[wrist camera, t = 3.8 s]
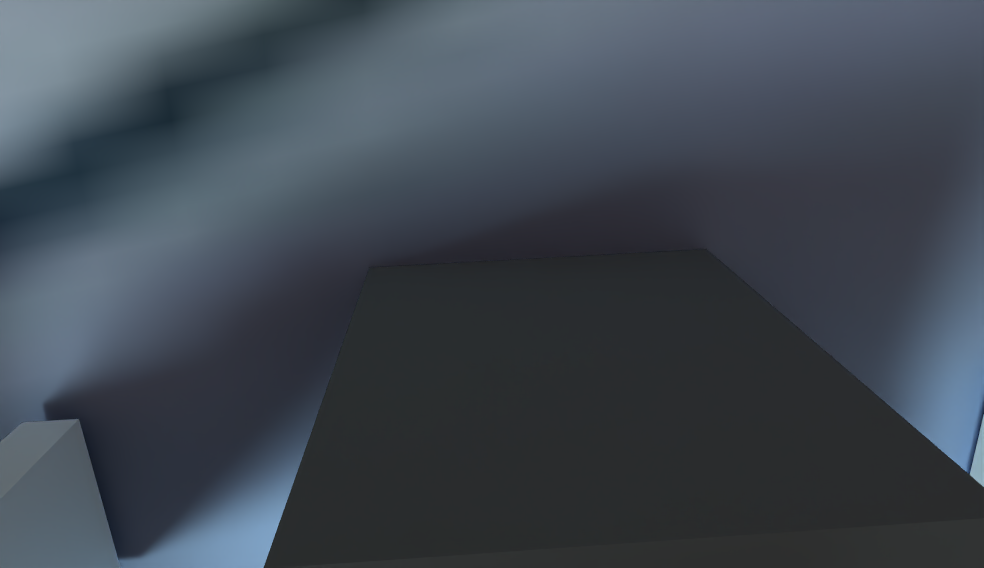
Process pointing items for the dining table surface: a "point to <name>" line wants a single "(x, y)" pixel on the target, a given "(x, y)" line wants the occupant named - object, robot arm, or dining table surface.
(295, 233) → the dining table surface
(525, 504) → the grey rectangular block
